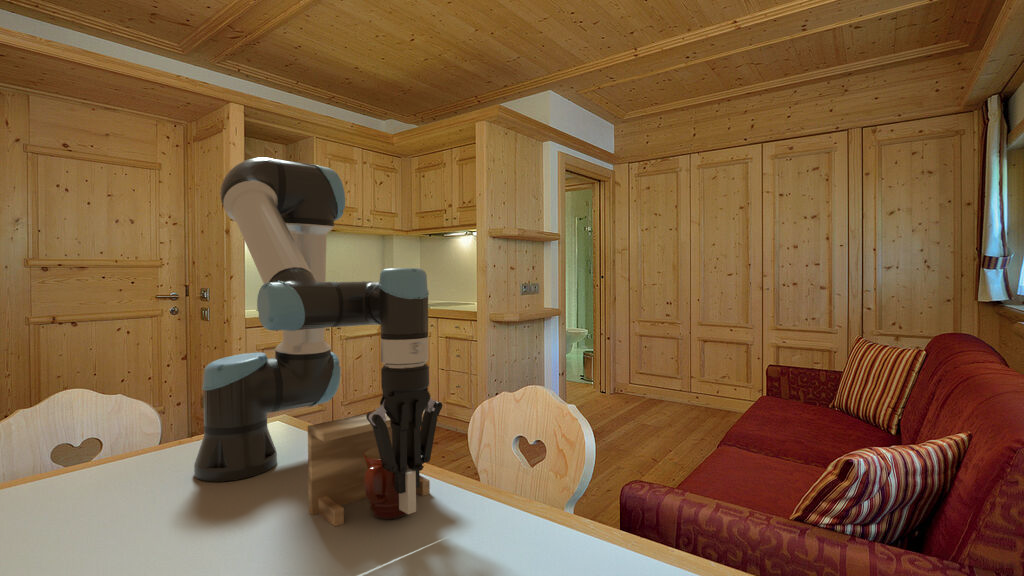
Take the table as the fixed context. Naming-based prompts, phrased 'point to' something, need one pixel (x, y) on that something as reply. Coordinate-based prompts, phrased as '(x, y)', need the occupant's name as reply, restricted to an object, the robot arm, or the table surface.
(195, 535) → the table surface
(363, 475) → the wooden standing sign
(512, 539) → the table surface
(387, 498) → the mug
